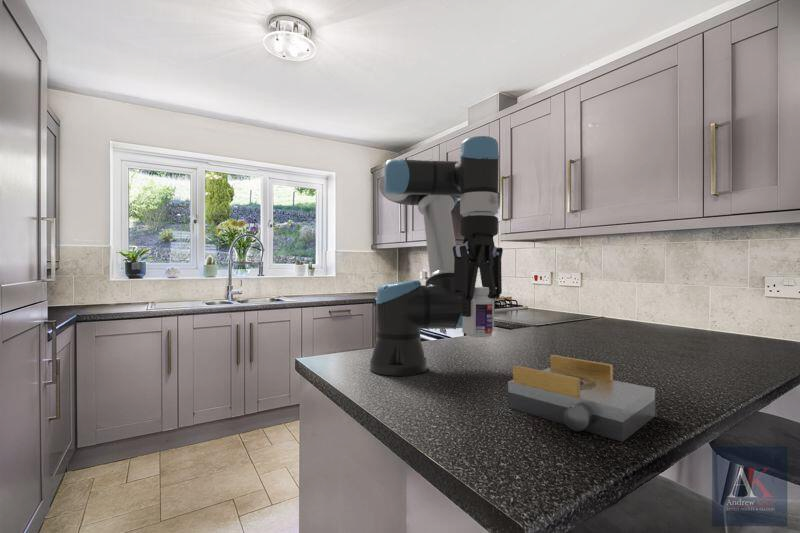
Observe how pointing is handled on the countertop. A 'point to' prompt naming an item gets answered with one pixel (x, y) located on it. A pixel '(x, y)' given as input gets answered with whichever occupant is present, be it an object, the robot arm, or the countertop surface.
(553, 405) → the grey clamp fixture
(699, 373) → the countertop surface
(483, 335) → the pill bottle
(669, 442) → the countertop surface
